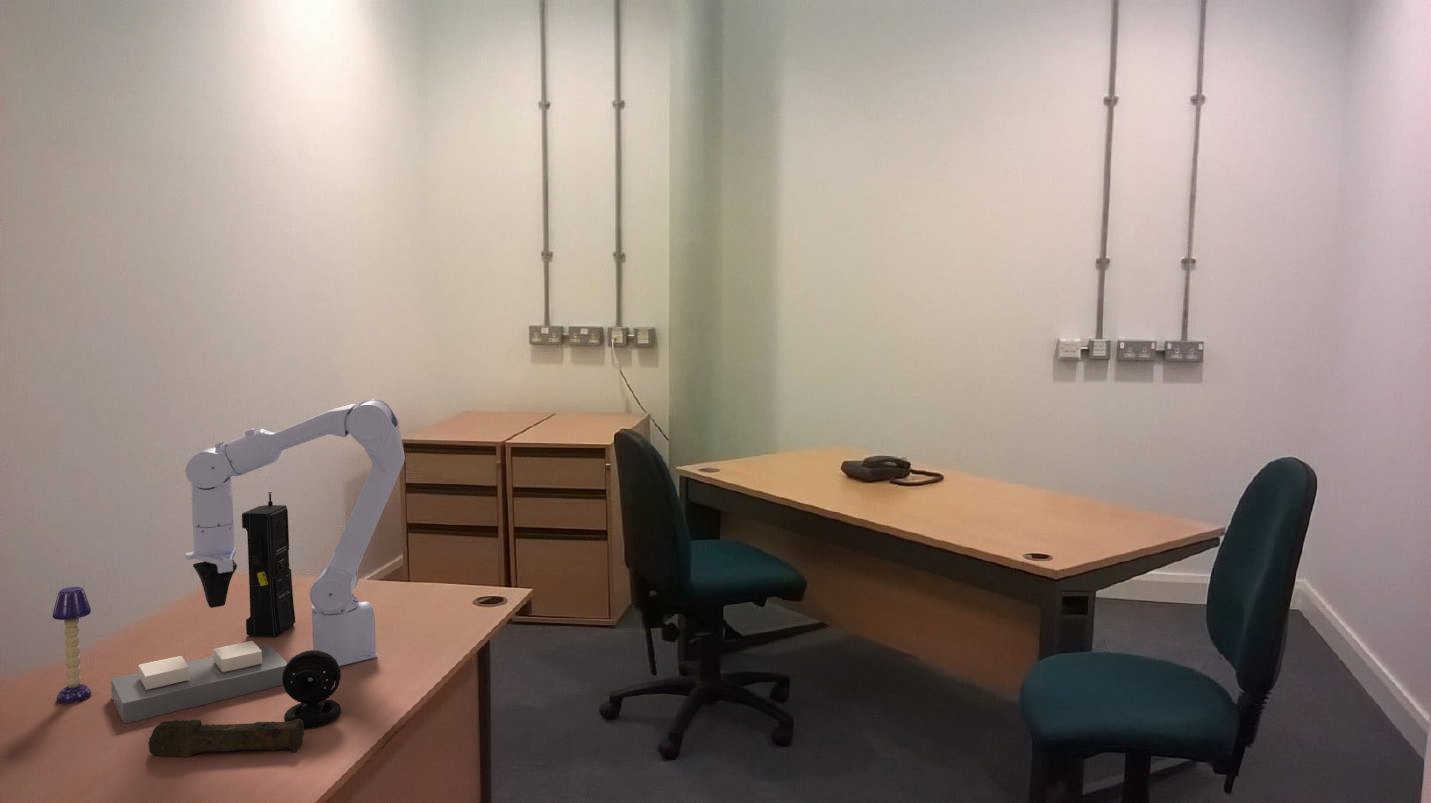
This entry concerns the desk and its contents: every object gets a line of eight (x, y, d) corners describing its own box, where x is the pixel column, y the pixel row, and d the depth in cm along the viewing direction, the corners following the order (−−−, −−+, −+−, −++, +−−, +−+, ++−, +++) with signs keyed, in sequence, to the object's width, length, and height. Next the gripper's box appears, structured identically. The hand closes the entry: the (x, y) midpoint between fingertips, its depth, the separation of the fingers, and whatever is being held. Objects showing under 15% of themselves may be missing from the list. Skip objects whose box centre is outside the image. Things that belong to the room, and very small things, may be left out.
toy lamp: (63, 692, 136) (56, 585, 134) (99, 688, 138) (93, 582, 136) (52, 705, 132) (45, 595, 130) (90, 701, 133) (83, 592, 132)
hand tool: (307, 741, 123) (306, 709, 123) (296, 755, 119) (295, 722, 119) (160, 746, 121) (159, 713, 121) (145, 761, 117) (143, 727, 117)
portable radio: (276, 640, 159) (271, 501, 156) (242, 639, 159) (237, 500, 156) (297, 624, 167) (293, 492, 164) (265, 623, 167) (260, 491, 164)
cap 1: (182, 685, 139) (181, 655, 138) (190, 697, 134) (189, 666, 134) (140, 695, 135) (138, 664, 134) (146, 708, 131) (145, 676, 130)
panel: (269, 661, 149) (269, 644, 149) (289, 683, 141) (289, 664, 141) (111, 697, 135) (110, 678, 135) (124, 723, 127) (122, 703, 126)
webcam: (276, 731, 125) (274, 662, 124) (291, 708, 132) (288, 642, 131) (336, 727, 127) (334, 659, 126) (346, 704, 134) (345, 639, 133)
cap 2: (253, 669, 145) (252, 640, 145) (262, 680, 141) (261, 651, 140) (214, 678, 141) (213, 648, 141) (223, 689, 137) (221, 659, 137)
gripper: (175, 518, 147) (178, 599, 148) (195, 536, 136) (198, 623, 137) (223, 512, 151) (226, 590, 153) (246, 529, 141) (249, 613, 142)
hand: (216, 605), depth 145 cm, fingers closed
